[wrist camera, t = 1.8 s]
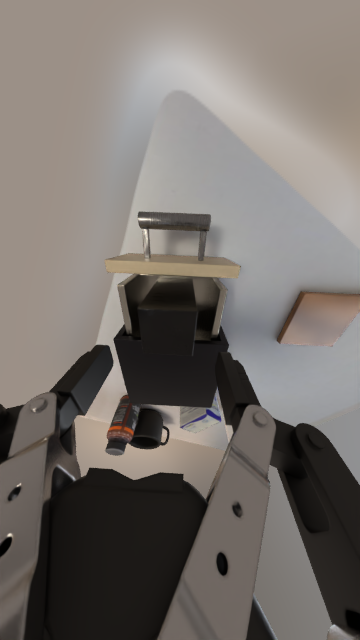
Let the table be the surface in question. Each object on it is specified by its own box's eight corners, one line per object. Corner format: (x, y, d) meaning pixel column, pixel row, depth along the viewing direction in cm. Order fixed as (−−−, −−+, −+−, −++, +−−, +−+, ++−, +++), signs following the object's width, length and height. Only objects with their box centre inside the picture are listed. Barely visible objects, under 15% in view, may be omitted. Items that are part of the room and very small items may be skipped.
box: (192, 396, 38) (194, 434, 31) (180, 389, 37) (179, 428, 29) (214, 383, 35) (222, 422, 27) (201, 375, 33) (206, 414, 26)
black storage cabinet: (134, 309, 25) (113, 339, 18) (216, 313, 25) (229, 345, 17) (142, 365, 32) (130, 403, 25) (205, 369, 32) (211, 408, 25)
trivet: (300, 291, 22) (305, 293, 21) (364, 294, 22) (371, 296, 21) (276, 340, 27) (279, 343, 26) (327, 343, 27) (332, 346, 26)
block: (158, 278, 20) (136, 308, 11) (192, 279, 20) (197, 311, 11) (159, 309, 23) (142, 353, 14) (190, 310, 23) (192, 356, 14)
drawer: (123, 216, 17) (91, 204, 12) (231, 220, 17) (254, 211, 11) (139, 331, 26) (126, 358, 21) (210, 335, 26) (217, 363, 20)
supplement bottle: (116, 399, 40) (94, 451, 30) (129, 391, 38) (109, 444, 28) (133, 408, 42) (117, 459, 32) (146, 401, 40) (133, 453, 30)
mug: (130, 415, 44) (122, 444, 38) (142, 402, 40) (134, 432, 34) (163, 426, 47) (160, 454, 41) (177, 415, 43) (176, 444, 37)
